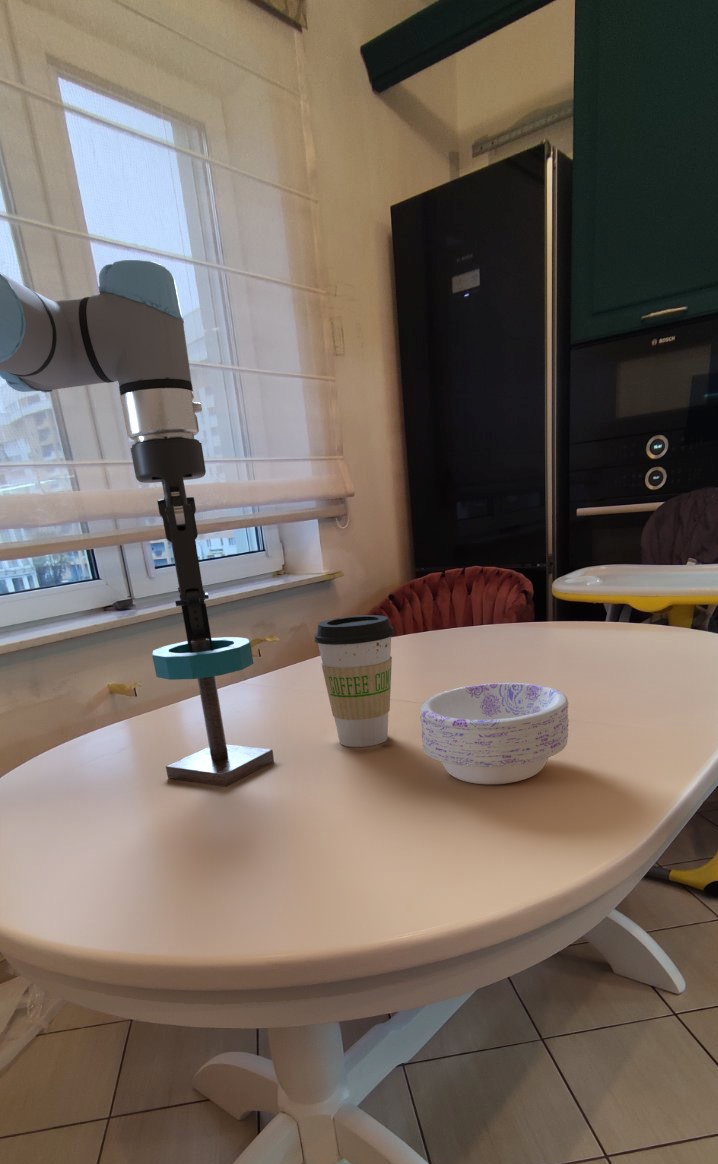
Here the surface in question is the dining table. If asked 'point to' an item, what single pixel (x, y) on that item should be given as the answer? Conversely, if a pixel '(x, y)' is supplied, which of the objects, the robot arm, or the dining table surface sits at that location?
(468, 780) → the paper bowls
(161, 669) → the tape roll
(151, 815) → the dining table surface
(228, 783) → the peg stand
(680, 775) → the dining table surface
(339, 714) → the coffee cup
